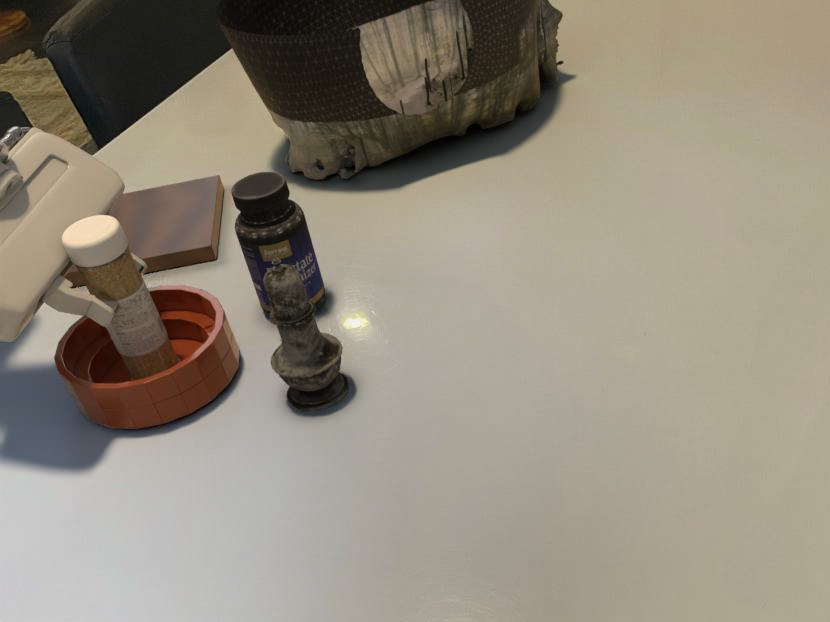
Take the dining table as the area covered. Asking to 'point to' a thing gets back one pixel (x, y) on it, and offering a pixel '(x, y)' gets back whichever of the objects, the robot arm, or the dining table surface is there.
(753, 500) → the dining table surface
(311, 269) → the pill bottle
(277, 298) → the grey stone chess piece
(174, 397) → the bowl
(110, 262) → the sprinkles bottle
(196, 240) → the board
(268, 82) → the basket
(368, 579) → the dining table surface
